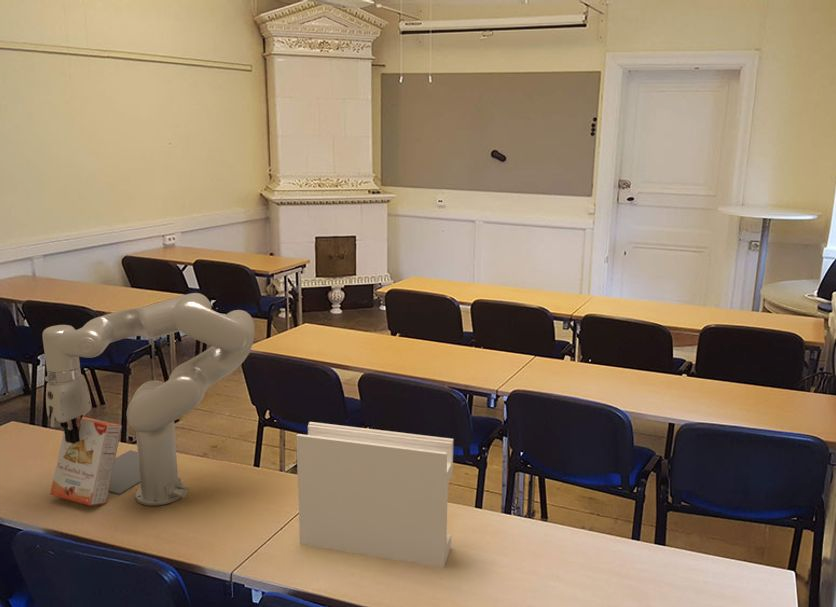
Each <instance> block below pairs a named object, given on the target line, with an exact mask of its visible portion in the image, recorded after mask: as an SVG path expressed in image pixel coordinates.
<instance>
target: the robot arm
mask: <svg viewBox="0 0 836 607" xmlns="http://www.w3.org/2000/svg"><path fill="white" fill-rule="evenodd" d="M255 330H256V329H255V321H254V319H253V317H252V316H251V314H250V313H248V311H245V310H242V309H236V310H235V309H234V310H232V311H229V312H228V313H226V314H223V313H220V312H217V311H215V310H213V308H212V304H211V302H210V299H208V298H207V296H205V295H204V294H202V293H199V292H193V293H191V292H190V293H187V294H183V295H180V296H176V297H173V298H170V299H169V298H168V299H166V300H162V301H159V302H156V303H153V304H149V305H145V306H140V307H134V308H128V309H127V308H126V309H123V310H118V311H114V312H111V313H108V314H104V315H100V316H97V317H94V318H92V319H90V320H89V321H87V322H86V323H85V324H84V325H83V326H82V327H80V328H78V329H75V327H73V326H72V325H68V324H57V325H52V326H48V327H46V328H45V329H43V331H42V344H43V351H44V359H45V365H46V373H47V375H46V376H45V377H44V380H45V382H47V383H46V388H45V390H46V391H45V405H46V406H45V407H46V414H47V418H48V420H50V428H55V429H56V428H61V429H63V433H65V440H66V442H69V443H73V444H75V443H76V442H79V441H80V438H79V429H78V426H80V421H81V419H82V417H85V416H86V415H88V413H89V411H91V410H92V401H91V395H90V391H89V390H90V389H89V386H88V383H87V380H86V378H85V375H84V374H82V372H81V371H82V370H81V363H80V358H89V359H90V358H95V357H98V356H100V355H101V354H102V353H104V351H105V350H106V348H107V347H108V346H109V344H111V343H114V342H117V341H120V340H124V339H128V338H133V337H145V338H148V339H151V340H153V339H158V338H161V337H164V336H165V337H166V336H167V335H172V334H175V333H178V332H181V333H183V334H184V335H186V336H188V337H190V338H192V339H194V340H197V341H199V342H201V343H204V344H206V345H208V346H210V347H208V348H207V349H206V350H204V351H203V352H200V353H199V354H197V355H196V356H194V357H192V358H191V359H189V360H187V361H185V362H183V363H180V364H179V365H177V366H176V367H175V368H174V369H173V370H172V372H171V373H170V375H169V378H168V380H166V381H165V382H163V381H161V380H148V381H145V382H144V383H142V384H141V385H140V386H139V387H138V388H137V389H136V391H135V393H134V394H133V396H132V397H131V400H130V402H129V404H128V406H127V410H126V420H127V423H128V424H129V426H130V428H132V429H133V430H134V431H135V434H136V436H135V438H136V447H137V448H136V449H137V452H138V460H139V471H140V482H141V483H140V487H139V488H138V489H137V490H136V491H135V494H134V495H135V500H136V502H137V503H139V504H142V505H144V506H151V507H153V506H154V507H155V506H164V505H168V504H171V503H173V502H175V501H176V502H177V500H179V499H180V498H185V497H186V496H187V492H188V491H189V489H190V488H189V485H185V484H184V482H182V477H179V473H178V472H179V471H178V460H177V459H178V457H177V446H176V434H175V433H176V430H175V429H176V428H175V420H178V419H179V418H181V417H183V416H185V415H186V414H188V413H189V412H190V411H192V410H194V409H195V408H196V407H197V406H199V404H201V403H202V401H203V399H204V396H205V395H206V391H207V389H208V388H210V387H211V386H212V385H214V384H216V383H218V382H219V381H221V380H222V379H224V378H225V377H227V376H228V375H229V374H231V373H233V372H234V371H235V370H237V369H238V368H239V367H240V366H241V365H242V364H243V363H244V362H245V360H246V359H247V357H248V356H249V355H250V352H251V351H252V347H253V344H254V341H255V334H256V333H255Z"/></svg>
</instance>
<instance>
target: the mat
mask: <svg viewBox="0 0 836 607" xmlns="http://www.w3.org/2000/svg"><path fill="white" fill-rule="evenodd" d="M138 485H141V482H140V471H139V460H138V451H134V450H131V449H130V450H128V451H126V452H124V453H122V454H120V455H118V456H116V458H115V462H114V467H113V472H112V477H111V482H110V486H109V491H108V494H112V495H116V496H119V497H120V496H121V495H123V494H125V493H126V492H129V491H130V490H132V489H133V488H135V487H136V486H138Z"/></svg>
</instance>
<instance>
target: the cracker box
mask: <svg viewBox="0 0 836 607" xmlns="http://www.w3.org/2000/svg"><path fill="white" fill-rule="evenodd" d="M122 428H123V426H122V424H118V423H113V422H110V421H109V422H108V421H103V420H101V419H96V418H95V419H94V418H90V417H86V416H83V417H82V419H81V421H80V426H78V429H79V438H80V441H79V442H76V443H75V444H73V443H69V442H66V440H65V433H64V432H63V434H62V438H61V442H60V443H61V444H60V446H59V452H58V458H57V461H56V466H55V472H54V476H53V479H52V484H51V489H50V493H49V495H50V496H54V497H57V498H61V499H64V500H68V501H71V502H76V503H79V504H83V505H85V506H86V505H87V506H89V507H90V506H91V507H92V506H97V505H99V506H100V505H105V504H107V500H108V496H109V492H108V491H109V486H110V482H111V477H112V472H113V467H114V462H115V458H116V457H117V452H118V447H119V441H120V437H121V433H122Z"/></svg>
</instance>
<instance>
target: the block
mask: <svg viewBox="0 0 836 607" xmlns="http://www.w3.org/2000/svg"><path fill="white" fill-rule="evenodd" d="M295 437H296V463H297V464H296V466H297V467H296V470H297V496H298V500H297V501H298V522H299V524H298V525H299V544H300V545H304V546H308V547H315V548H320V549H327V550H334V551H340V552H346V553H351V554H357V555H359V554H360V555H364V556H370V557H375V558H381V559H389V560H393V561H401V562H406V563H412V564H417V565H418V564H419V565H425V566H431V567H438V568H444V567H445V565H446V563H447V559H448V556H449V554H450V551H451V548H452V534H450V533H449V534H448V532H447V531H448V491H449V484H450V481H451V479H452V476H453V475H454V469H453V466H454V438H450V437H440V436H431V435H423V434H415V433H406V432H398V431H391V430H381V429H375V428H374V429H373V428H366V427H365V428H364V427H356V426H349V425H339V424H330V423H324V422H314V421H309V422H308V425H307V434H302V433H297V434H296V435H295Z"/></svg>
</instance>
